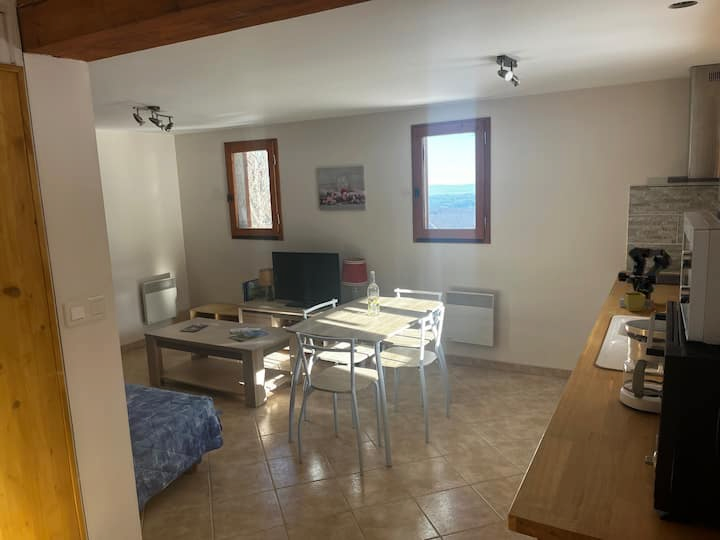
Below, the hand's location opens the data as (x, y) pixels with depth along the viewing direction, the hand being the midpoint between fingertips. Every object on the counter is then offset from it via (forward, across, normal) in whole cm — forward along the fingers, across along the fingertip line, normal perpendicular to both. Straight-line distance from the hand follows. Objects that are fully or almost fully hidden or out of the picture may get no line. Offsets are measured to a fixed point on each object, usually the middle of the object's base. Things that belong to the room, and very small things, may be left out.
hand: (634, 291), depth 288 cm
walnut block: (+5, -6, -8) cm, 11 cm away
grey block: (+7, +4, -6) cm, 10 cm away
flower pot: (+12, -1, -1) cm, 12 cm away
